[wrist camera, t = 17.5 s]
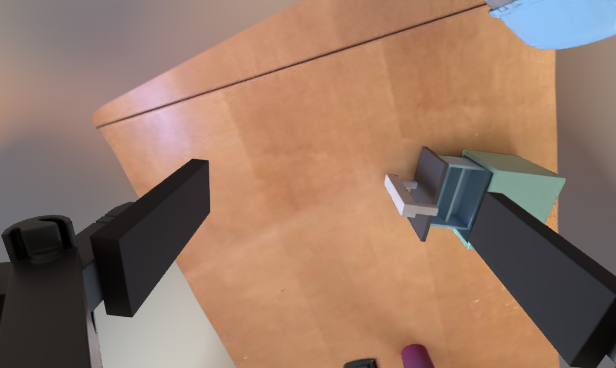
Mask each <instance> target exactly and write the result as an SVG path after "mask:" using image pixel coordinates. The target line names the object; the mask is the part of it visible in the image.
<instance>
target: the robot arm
mask: <svg viewBox="0 0 616 368" xmlns="http://www.w3.org/2000/svg"><path fill="white" fill-rule="evenodd" d="M484 1H485V2H486V3H487V4H488V5H489V6H490V7H491V8H492V9H491V10H490V11H489V14H490V15H491V16H492V17H495V18H497V17H499V18H500V19H501V20H502V21H503V22H504V23H505V24H506V25H507V26H508V27H509V28H510V29H511V30H512V31H513V32H514V33H515V34H516V35H517V36H518V37H519V38H520V39H521V40H522V41H523V42H524V43H526V44H528V45H530V46H532V47H535V48H539V49H547V50H550V49H565V48H571V47H576V46H581V45H585V44H589V43H592V42H596V41H599V40H602V39H605V38H608V37H611V36H614V35H616V0H484ZM209 213H210V188H209V160H200V159H191V160H190V161H189V162H187V163H186V164H185V165H183V166H182V167H181V168H179V169H178V170H177V171H175V172H174V173H173V174H171V175H170V176H169V177H167V178H166V179H165V180H163V181H162V182H161V183H160V184H158V185H157V186H156V187H154V188H153V189H152V190H150V191H149V192H148V193H146V194H145V195H144V196H142V197H141V198H140V199H138V200H137V201H136V202H128V203H125V204H123V205H120V206H118V207H115V208H114V209H112V210H111V211H109V212H108V213H107V214H105V216H104V217H101V218H100V219H98V220H97V221H96V223H92V224H91V225H90V226H89V227H87V228H85V229H84V230H83V231H81V232H80V233H78V234H77V235H76V236H75V233H74V229H73V225H72V221H71V220H70V218H68V217H65V216H60V215H48V216H39V217H35V218H30V219H26V220H24V221H21V222H18V223H16V224H14V225H12V226H11V227H9V228H7V229H6V230H5V231H4V232H3V233H2V235H1V236H2V239H3V242H4V244H5V247H6V250H7V253H8V255H9V258H10V261H11V262H3V263H0V368H103V367H102V360H101V353H100V346H99V340H98V332H97V325H96V319H95V314H94V309H95V308H96V307H97V306H98V305H99V304H100V303H101V302H102V300H104V304H105V309H106V314H107V315H115V316H123V317H133V316H134V314H135V313H136V312H137V310H138V309H139V308H140V306H141V305H142V304H143V302H144V301H145V300H146V298H147V297H148V296H149V294H150V293H151V291H152V290H153V289H154V287H155V286H156V285H157V283H158V282H159V281H160V279H161V278H162V276H163V275H164V274H165V272H166V271H167V270H168V268H169V267H170V266H171V264H172V263H173V262H174V260H175V259H176V258H177V256H178V255H179V254H180V252H181V251H182V250H183V248H184V247H185V245H186V244H187V243H188V241H189V240H190V239H191V237H192V236H193V235H194V233H195V232H196V231H197V229H198V228H199V227H200V225H201V224H202V222H203V221H204V220H205V218H206V217H207V216H208V214H209ZM468 242H469V243H470V244H471V245H472V247H473V248H474V249H475V250H476V251H477V253H478V254H479V255H480V256H481V258H482V259H483V260H484V261H485V263H486V264H487V265H488V266H489V267H490V269H491V270H492V271H493V272H494V274H495V275H496V276H497V277H498V279H499V280H500V281H501V282H502V284H503V285H504V286H505V287H506V288H507V290H508V291H509V292H510V293H511V295H512V296H513V297H514V298H515V300H516V301H517V302H518V303H519V304H520V306H521V307H522V308H523V309H524V311H525V312H526V313H527V314H528V316H529V317H530V318H531V319H532V321H533V322H534V323H535V324H536V325H537V327H538V328H539V329H540V330H541V332H542V333H543V334H544V335H545V337H546V338H547V339H548V340H549V341H550V343H551V344H552V345H553V346H554V348H555V349H556V350H557V351H558V353H559V354H560V355H561V356H562V357H563V359H564V360H565V361H566V362H567V364H568V365H569V366H571V367H580V368H597V366H598V365H599V363H600V362H601V361H602V359H603V358H604V356H605V355H607V356H608V357H609V358H610V359H611V360H612V361H613V362H614V363H615V364H616V276H615V275H613V274H612V273H610V272H609V271H608V270H606V269H605V268H604V267H602V266H601V265H599V264H598V263H597V262H595V261H594V260H593V259H591V258H590V257H589V256H587V255H586V254H585V253H583V252H582V251H581V250H579V249H578V248H576V247H575V246H574V245H572V244H571V243H570V242H568V241H567V240H565V239H564V238H563V237H561V236H560V235H559V234H557V233H556V232H555V231H553V230H552V229H551V228H549V227H548V226H546V225H545V224H544V223H542V222H541V221H540V220H538V219H537V218H536V217H534V216H533V215H531V214H530V213H529V212H527V211H526V210H525V209H523V208H522V207H521V206H519V205H518V204H516V203H515V202H514V201H512V200H511V199H510V198H508V197H507V196H506V195H504V194H503V193H497V192H488V191H486V193H485V196H484V198H483V201H482V204H481V206H480V209H479V212H478V214H477V217H476V220H475V222H474V225H473V228H472V231H471V233H470V236H469V239H468ZM615 368H616V367H615Z"/></svg>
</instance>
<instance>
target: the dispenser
mask: <svg viewBox="0 0 616 368" xmlns="http://www.w3.org/2000/svg"><path fill="white" fill-rule="evenodd" d="M461 158H468V159H472V160H474V161H475V162H477V163H478V164H480V165H482V166H483V167H485V168H486V169H488V170H489V171H491V172H492V174H491V176H490V179H489V182H488V184H487V187H486V190H485V193H486V191H488V192H497V193H503V194H504V195H506V196H507V197H508V198H510V199H511V200H512V201H514V202H515V203H516V204H518V205H519V206H521V207H522V208H523V209H525V210H526V211H527V212H529V213H530V214H531V215H533V216H534V217H536V218H537V219H538V220H540V221H541V222H542V223H544V224H545V222H546V220H547V218H548V216H549V214H550V212H551V210H552V208H553V206H554V204H555V201H556V199H557V197H558V195H559V193H560V191H561V189H562V187H563V185H564V183H565V181H566V178H565V177H562V176H560V175H558V174H556V173H554V172H552V171H549V170H547V169H545V168H543V167H541V166H539V165H537V164H534V163H532V162H530V161H528V160H526V159H524V158H522V157H520V156H516V155H507V154H499V153H490V152H482V151H473V150H465V149H463V152H462V155H461ZM485 193H484V195H483V198H484V196H485ZM483 198H482V201H483ZM482 201H481V203H480V206H481V204H482ZM480 206H479V209H480ZM479 209H478V211H477V214H478V212H479ZM477 214H476V217H477ZM476 217H475V219H474V222H475V220H476ZM474 222H473V225H474ZM473 225H472V227H471V230H462V229H453V228H452V230H453V231H454V232H455V233H456V235H457V236H458V237H459V239H460V240H461V241H462V242H463V244H464V245H465V246H466V247H467V249H468V250H475V249H474V248H473V247H472V245H471V244H470V243H469V242H468V239H469V236H470V233H471V231H472V228H473Z"/></svg>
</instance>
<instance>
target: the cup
mask: <svg viewBox="0 0 616 368" xmlns="http://www.w3.org/2000/svg"><path fill="white" fill-rule="evenodd" d="M402 359H403V364H404V368H435V367H434V365H433V362H432V360H431V358H430V356H429V354H428V351H427V349H426V348H425V347H424V346H421V345H417V344H414V345H410V346H407V347H406V348H404V350H403V351H402Z"/></svg>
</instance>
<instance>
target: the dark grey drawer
mask: <svg viewBox="0 0 616 368" xmlns="http://www.w3.org/2000/svg"><path fill="white" fill-rule="evenodd" d="M491 174H492V172H491V171H489V170H488V169H486V168H485V167H483V166H482V165H480V164H478V163H477V162H475V161H474V160H472V159H468V158H460V157H451V156H443V155H437V154H435V153H434V152H433V151H432V150H430V149H429V148H428V147H424V146H423V148H422V152H421V155H420V159H419V163H418V167H417V170H416V174H415V178H414V180H407V179H399V177H398V176H397V175H392V174H386V177H385V182H384V184H385V186H386V188H387V190H388V192H389V194H390V196H391V198H392V200H393V201H394V203H395V205H396V207H397V209H398V211H399V213H400V215H401V216H405V217H407V218H408V220H409V221H410V223H411V225H412V227H413V228H414V230H415V232H416V234H417V235H418V237H419V239H420V241H422V242H425V241H426V238H427V234H428V231H429V228H430V226H436V227H444V228H453V229H462V230H471V227H472V225H473V222H474V219H475V217H476V214H477V211H478V209H479V206H480V203H481V201H482V198H483V195H484V193H485V190H486V187H487V184H488V182H489V179H490V176H491ZM406 188H411V193H409V192H408V190H407V189H406Z"/></svg>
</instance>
